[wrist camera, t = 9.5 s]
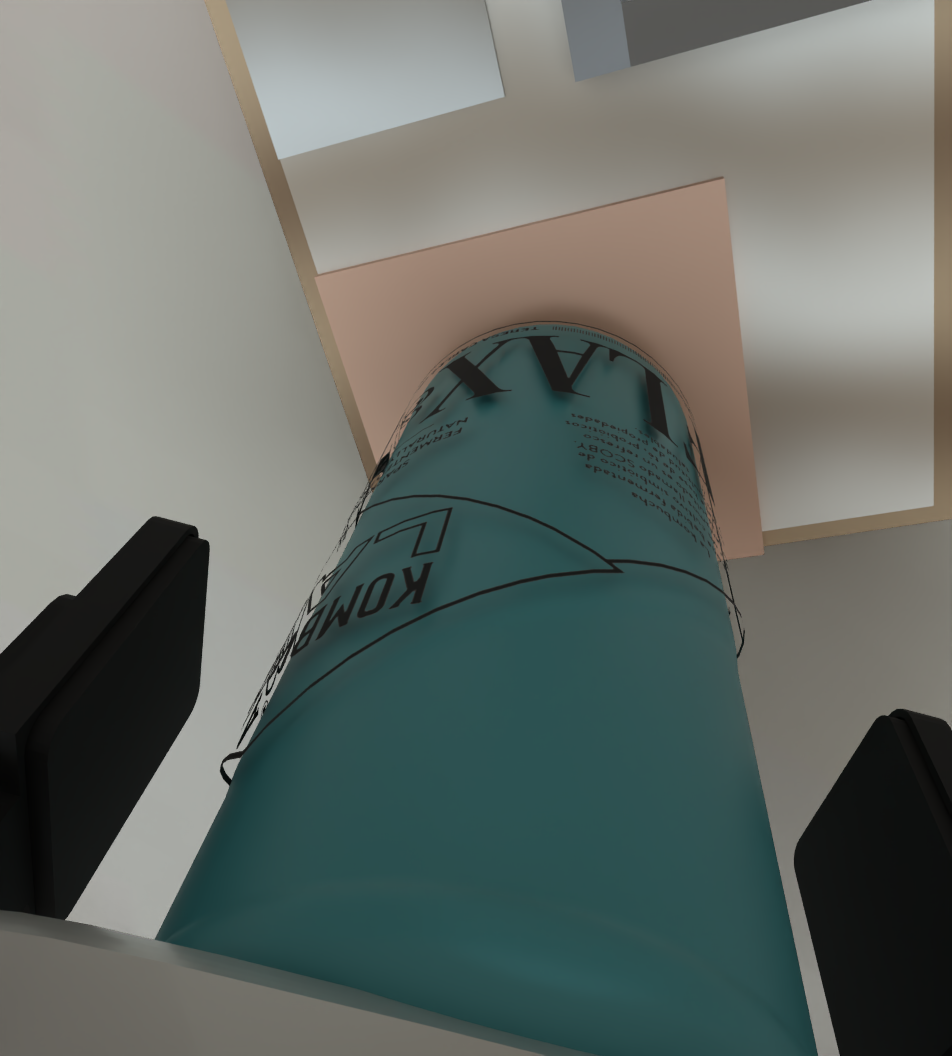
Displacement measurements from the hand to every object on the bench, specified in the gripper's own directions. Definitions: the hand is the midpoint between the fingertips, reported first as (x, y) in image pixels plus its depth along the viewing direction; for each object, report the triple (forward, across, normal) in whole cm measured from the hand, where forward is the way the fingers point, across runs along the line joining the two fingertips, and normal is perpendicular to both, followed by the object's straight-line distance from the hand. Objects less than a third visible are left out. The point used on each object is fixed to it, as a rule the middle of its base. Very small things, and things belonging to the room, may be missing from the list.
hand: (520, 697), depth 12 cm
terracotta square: (+11, 0, 0) cm, 11 cm away
